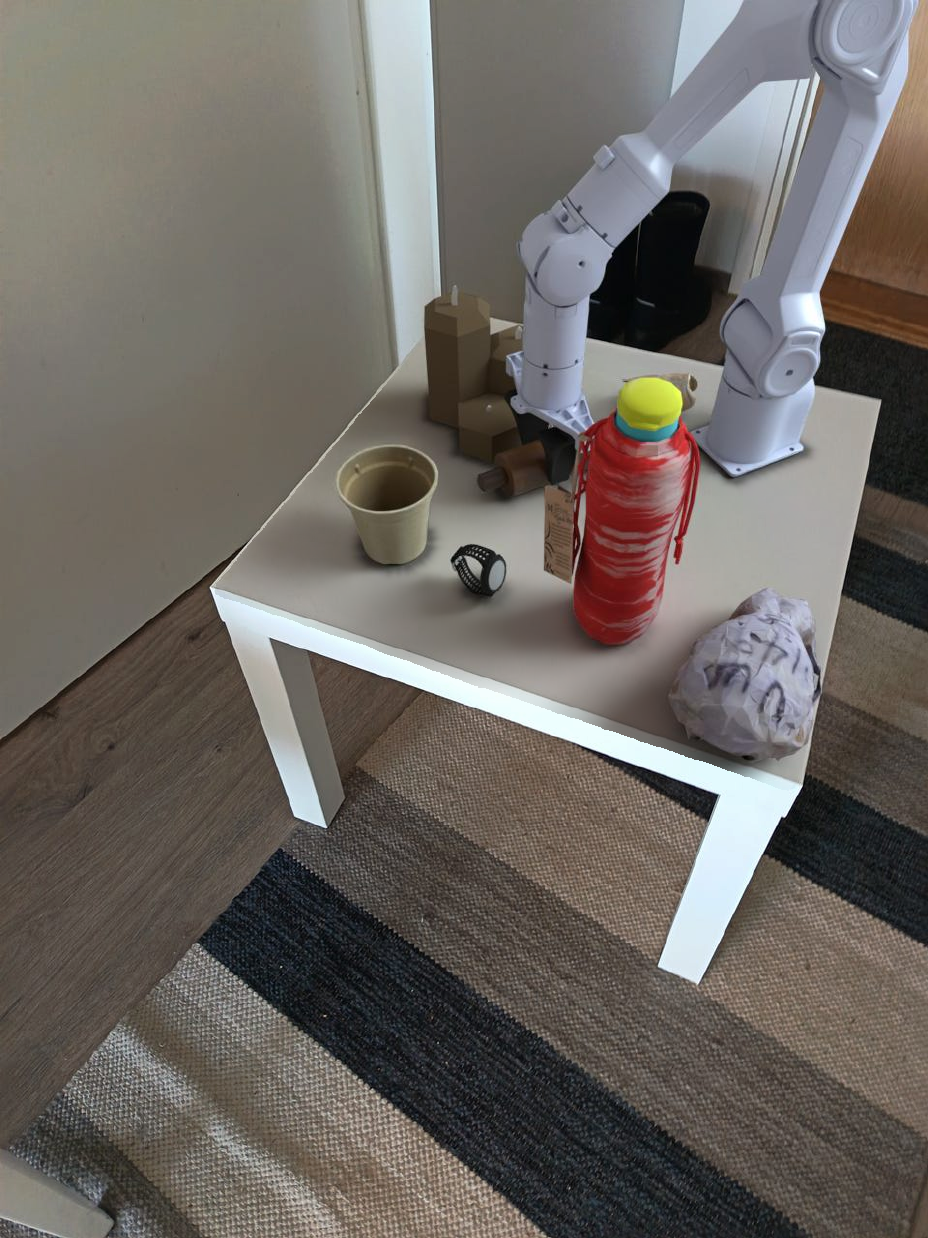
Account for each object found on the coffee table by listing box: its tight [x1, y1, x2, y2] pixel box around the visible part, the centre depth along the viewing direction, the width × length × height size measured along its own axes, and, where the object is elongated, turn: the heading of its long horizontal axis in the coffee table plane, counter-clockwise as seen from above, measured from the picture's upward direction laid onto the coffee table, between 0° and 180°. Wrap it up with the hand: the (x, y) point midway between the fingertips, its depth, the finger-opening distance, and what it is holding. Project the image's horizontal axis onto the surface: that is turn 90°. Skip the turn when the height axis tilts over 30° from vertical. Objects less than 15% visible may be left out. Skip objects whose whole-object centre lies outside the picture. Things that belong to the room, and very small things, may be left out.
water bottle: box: [543, 378, 701, 645], centre depth 69 cm, size 12×8×25 cm, turn 71°
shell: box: [621, 372, 698, 413], centre depth 96 cm, size 8×4×5 cm, turn 84°
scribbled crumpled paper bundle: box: [667, 587, 823, 764], centre depth 69 cm, size 19×12×10 cm, turn 137°
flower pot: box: [334, 443, 439, 565], centre depth 82 cm, size 9×9×9 cm
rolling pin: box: [476, 439, 590, 498], centre depth 89 cm, size 15×5×5 cm, turn 116°
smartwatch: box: [449, 543, 507, 598], centre depth 79 cm, size 4×5×5 cm
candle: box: [423, 285, 523, 464], centre depth 92 cm, size 14×14×15 cm
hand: (545, 465), depth 89 cm, fingers closed on rolling pin, 4 cm apart
